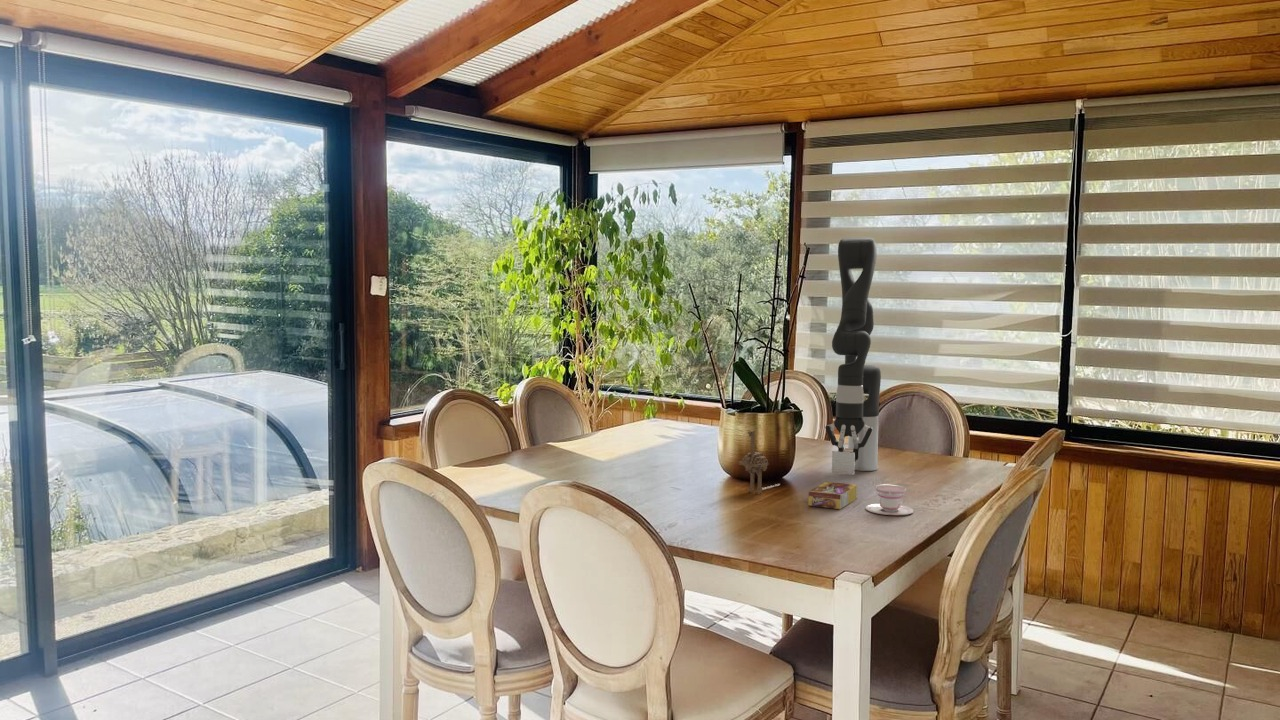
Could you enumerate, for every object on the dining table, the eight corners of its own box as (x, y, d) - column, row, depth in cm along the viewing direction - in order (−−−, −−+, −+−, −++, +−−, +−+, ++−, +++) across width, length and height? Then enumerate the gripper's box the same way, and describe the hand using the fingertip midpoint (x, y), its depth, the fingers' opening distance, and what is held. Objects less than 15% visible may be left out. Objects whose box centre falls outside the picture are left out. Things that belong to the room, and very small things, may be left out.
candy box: (825, 496, 256) (807, 505, 243) (826, 481, 256) (807, 489, 243) (857, 500, 252) (840, 509, 239) (857, 484, 252) (840, 493, 238)
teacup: (914, 517, 232) (915, 493, 232) (865, 514, 235) (866, 490, 234) (912, 507, 244) (912, 484, 243) (865, 504, 246) (866, 481, 246)
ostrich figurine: (757, 497, 253) (758, 432, 252) (737, 493, 258) (738, 430, 256) (790, 488, 266) (791, 426, 265) (770, 485, 270) (771, 424, 269)
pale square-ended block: (839, 463, 268) (840, 442, 267) (860, 464, 266) (861, 444, 265) (831, 473, 254) (832, 451, 254) (853, 474, 252) (854, 453, 252)
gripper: (876, 400, 263) (874, 460, 264) (827, 398, 268) (825, 457, 269) (873, 403, 256) (871, 464, 257) (822, 400, 261) (821, 461, 262)
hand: (848, 460), depth 263 cm, fingers closed on pale square-ended block, 3 cm apart
